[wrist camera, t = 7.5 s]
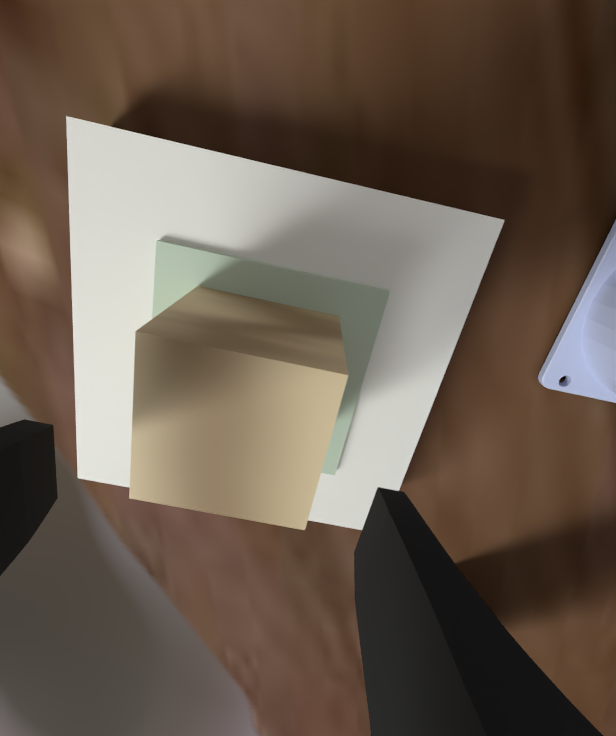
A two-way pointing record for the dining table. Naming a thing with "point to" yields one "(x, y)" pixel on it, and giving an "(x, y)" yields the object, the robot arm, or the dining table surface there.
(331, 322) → the birch block
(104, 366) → the base plinth
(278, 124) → the dining table surface
